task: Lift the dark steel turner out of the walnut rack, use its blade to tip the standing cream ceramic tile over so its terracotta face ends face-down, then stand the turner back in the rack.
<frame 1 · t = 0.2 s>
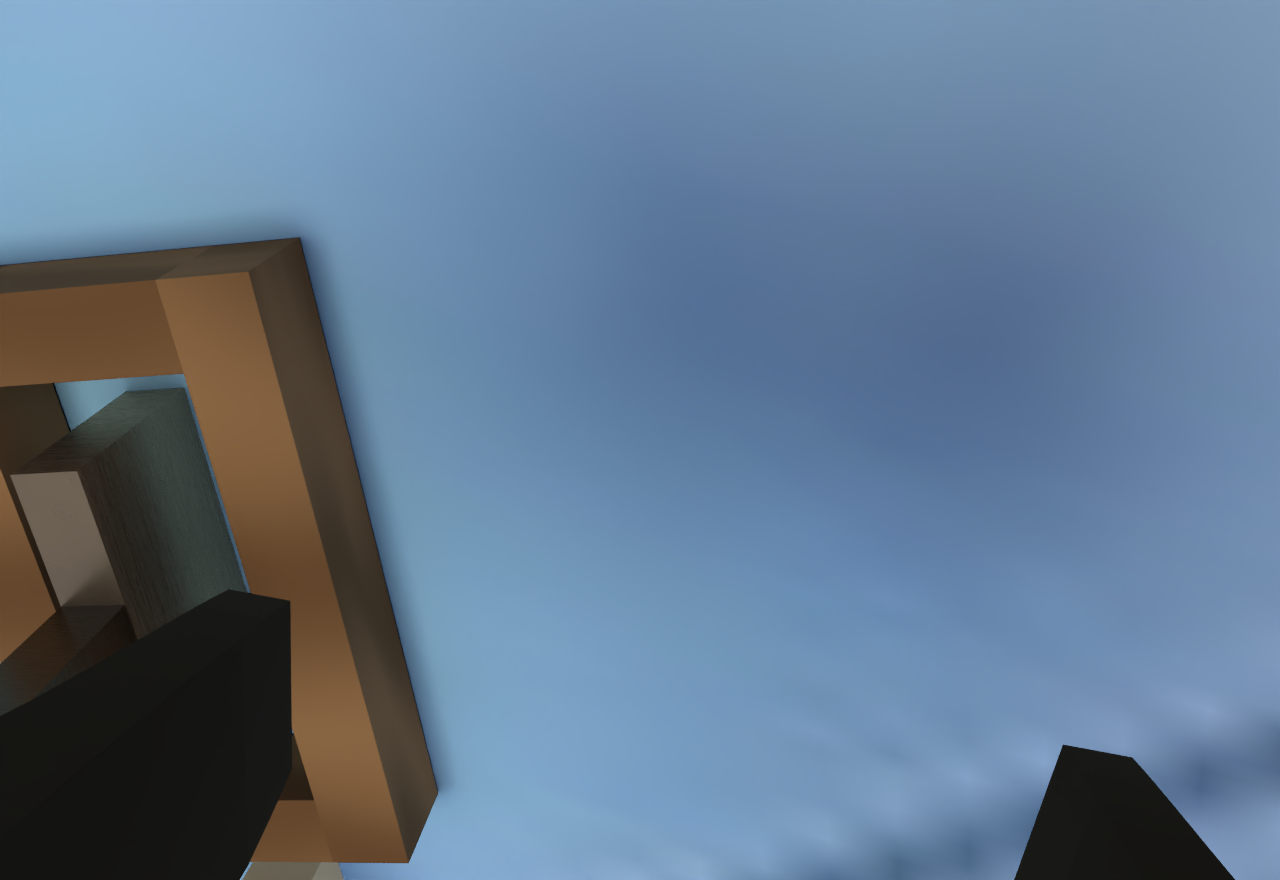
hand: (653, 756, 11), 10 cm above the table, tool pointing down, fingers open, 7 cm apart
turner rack: (205, 553, 23), on the table
turner: (69, 700, 19), in the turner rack
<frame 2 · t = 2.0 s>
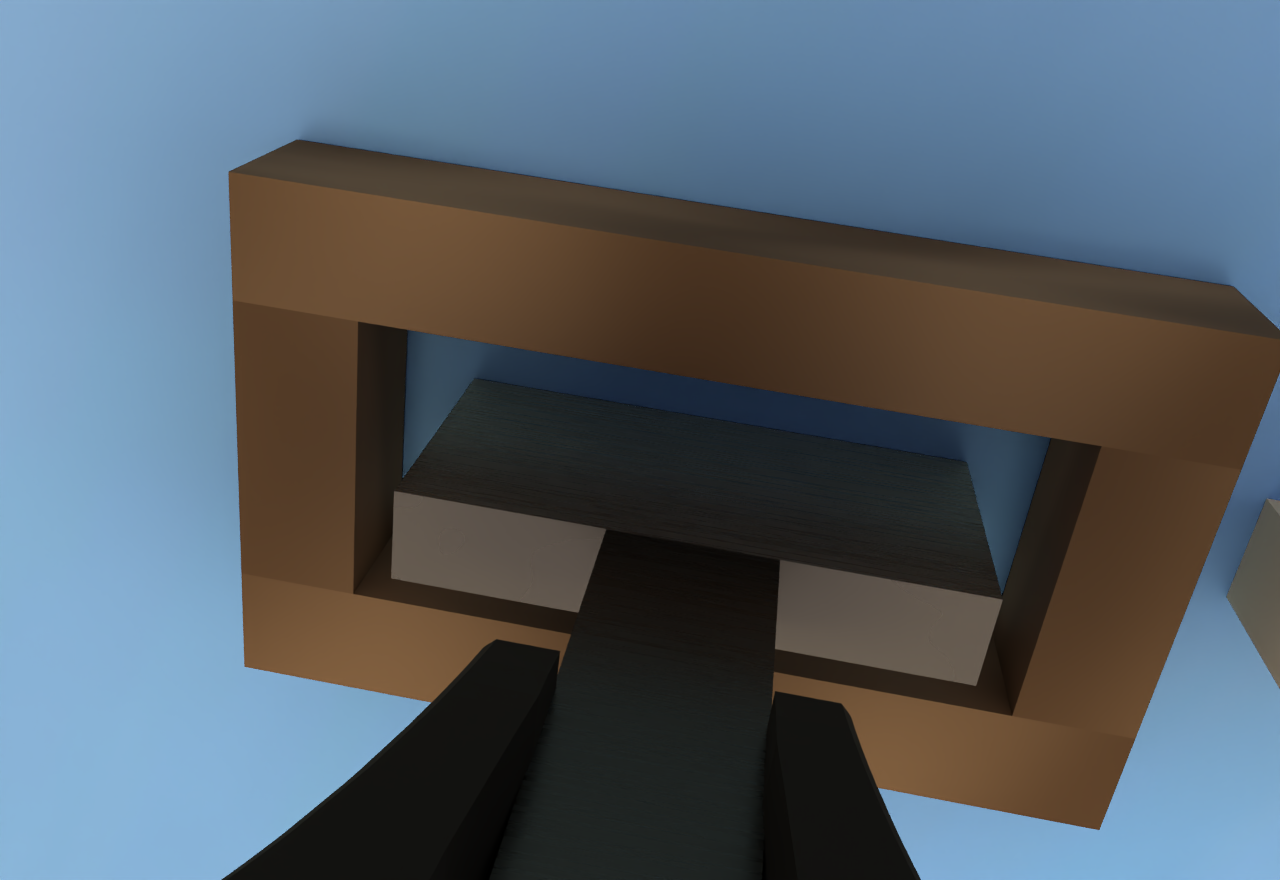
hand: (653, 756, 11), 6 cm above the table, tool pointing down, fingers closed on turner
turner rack: (710, 457, 17), on the table
turner: (673, 651, 12), in the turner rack, touching gripper
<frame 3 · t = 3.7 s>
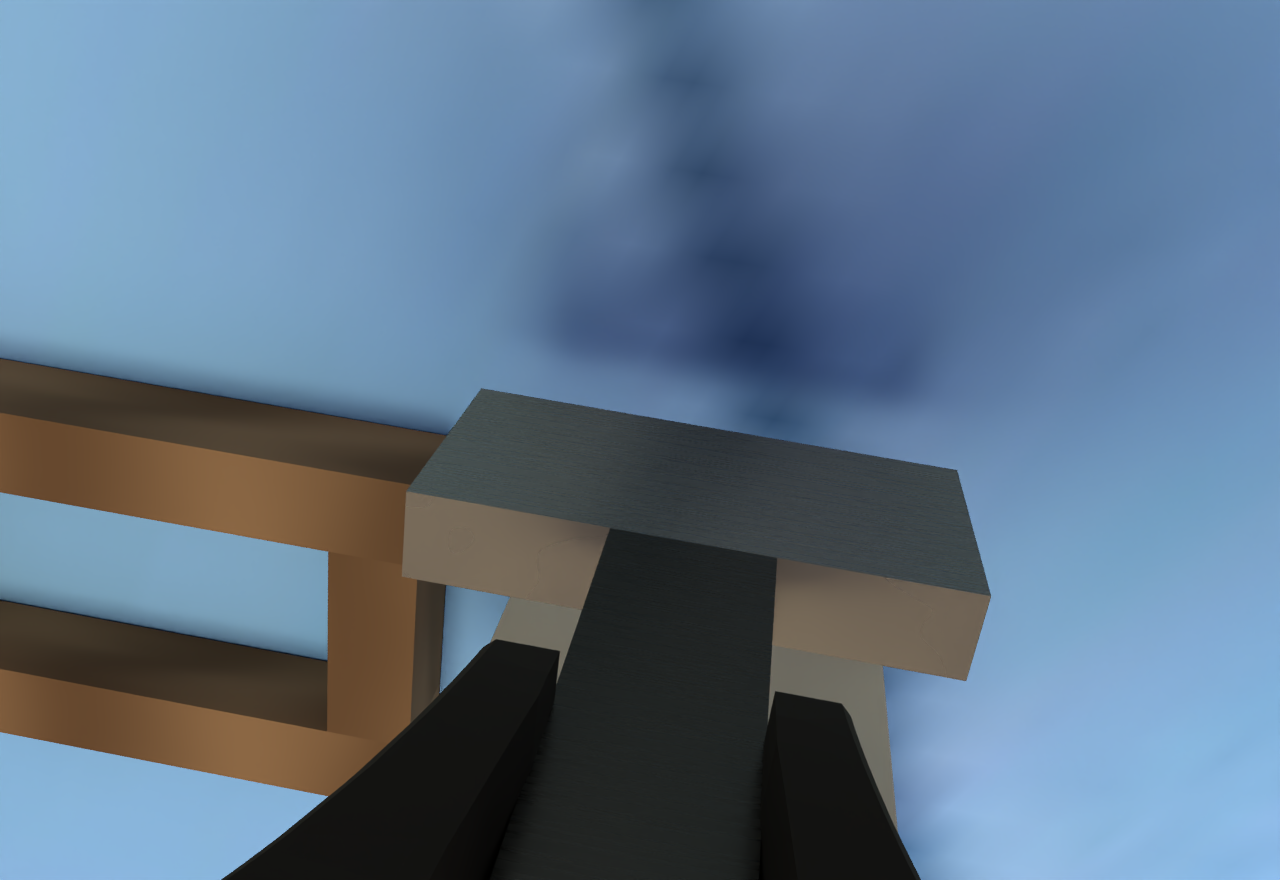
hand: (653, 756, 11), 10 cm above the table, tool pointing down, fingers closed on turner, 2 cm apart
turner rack: (147, 546, 23), on the table
turner: (674, 643, 13), point 8 cm above the table, touching gripper
tile: (691, 644, 23), on the table
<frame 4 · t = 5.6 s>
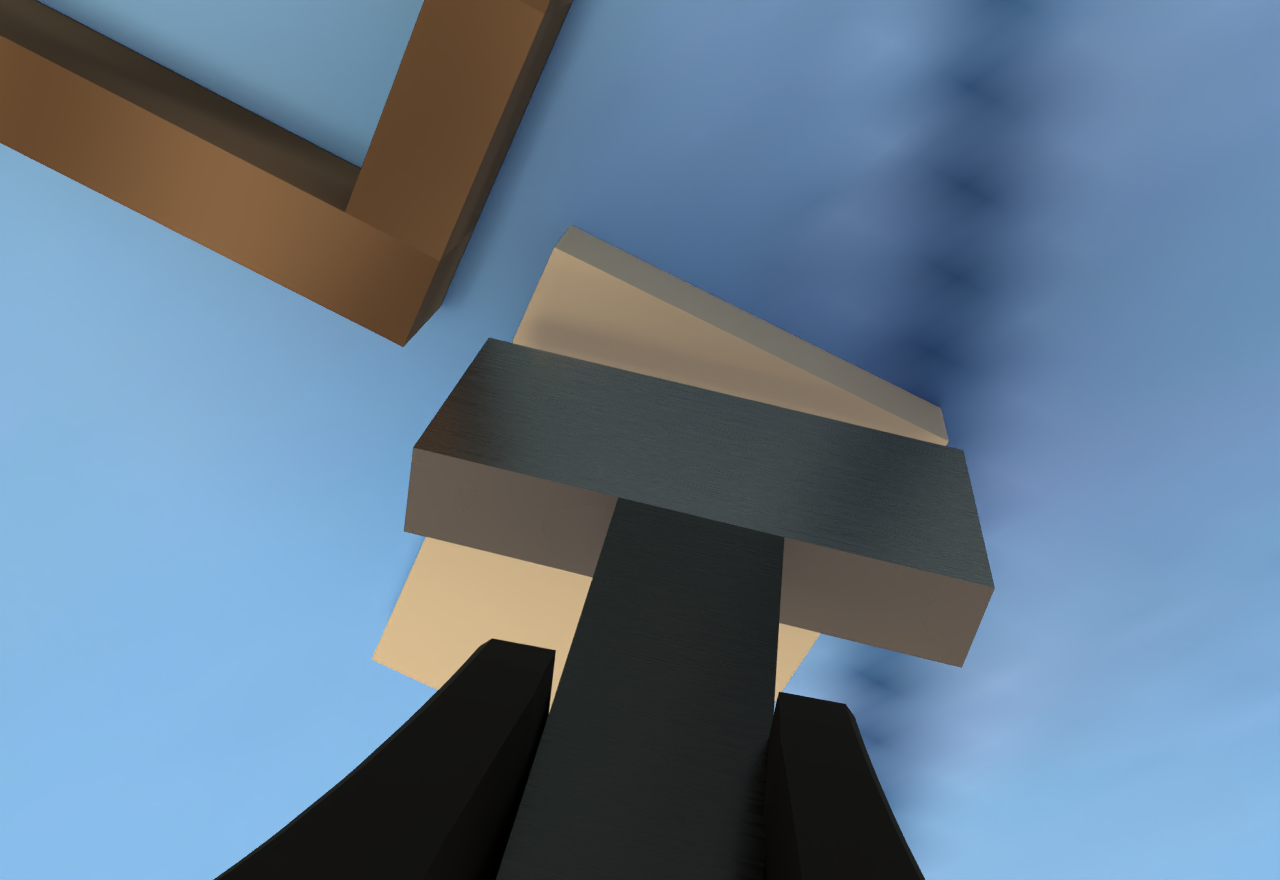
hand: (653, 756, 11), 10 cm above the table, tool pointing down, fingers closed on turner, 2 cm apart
turner: (678, 619, 13), point 8 cm above the table, touching gripper
tile: (756, 328, 19), point 1 cm above the table, tilted 90°
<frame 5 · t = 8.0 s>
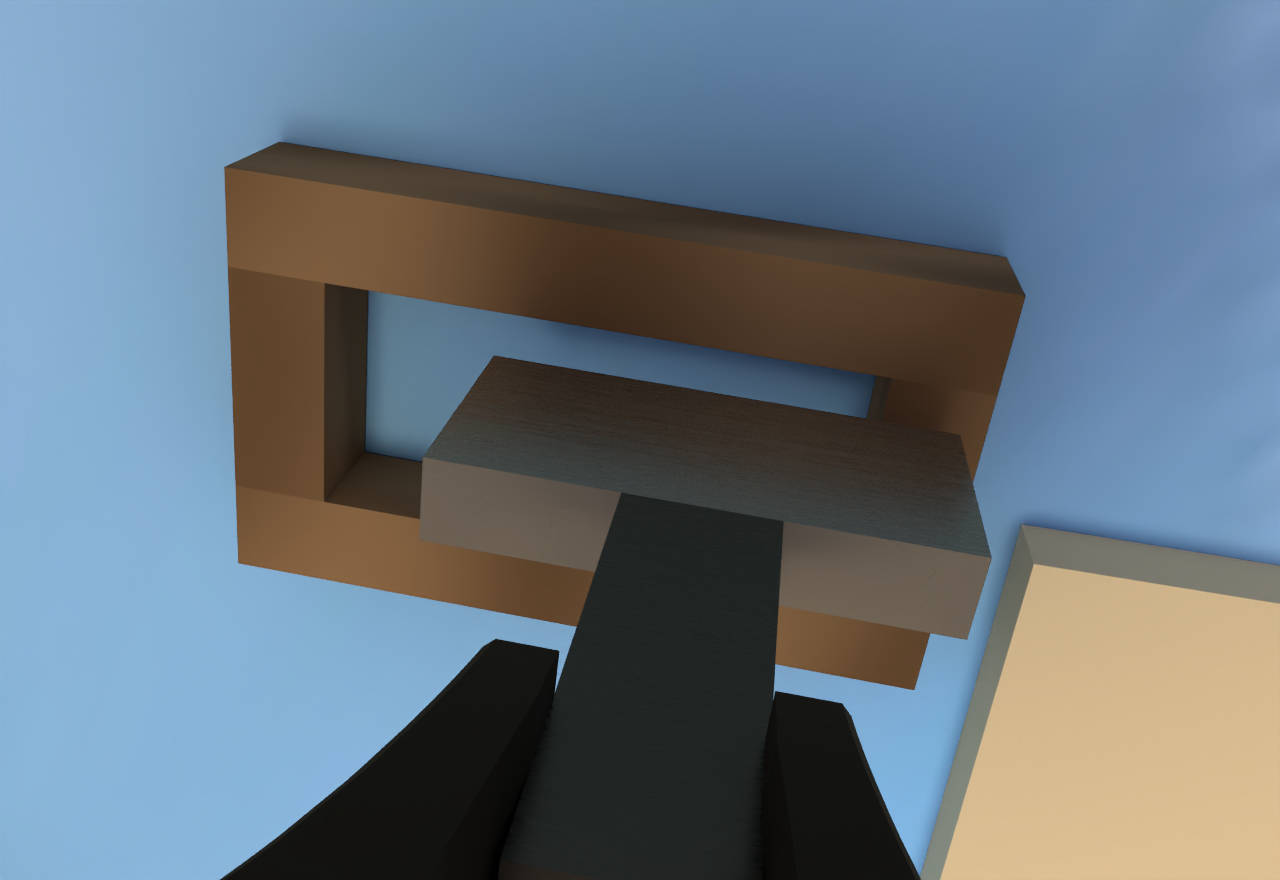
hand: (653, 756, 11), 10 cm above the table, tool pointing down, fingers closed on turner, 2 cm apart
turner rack: (609, 396, 21), on the table
turner: (684, 604, 13), point 8 cm above the table, touching gripper
tile: (1233, 573, 20), point 1 cm above the table, tilted 90°
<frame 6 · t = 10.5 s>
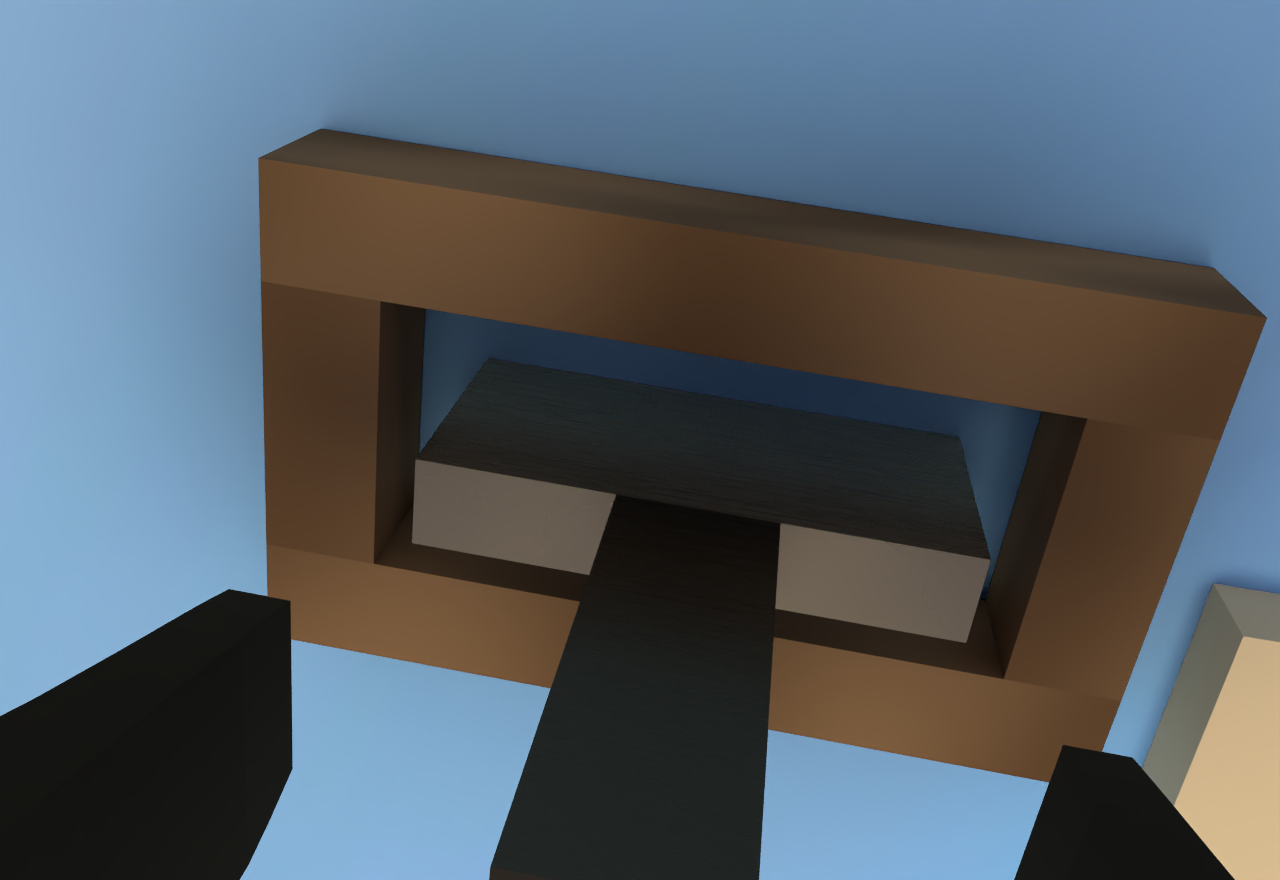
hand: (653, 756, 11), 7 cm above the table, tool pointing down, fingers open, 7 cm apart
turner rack: (715, 434, 17), on the table
turner: (680, 607, 13), in the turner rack
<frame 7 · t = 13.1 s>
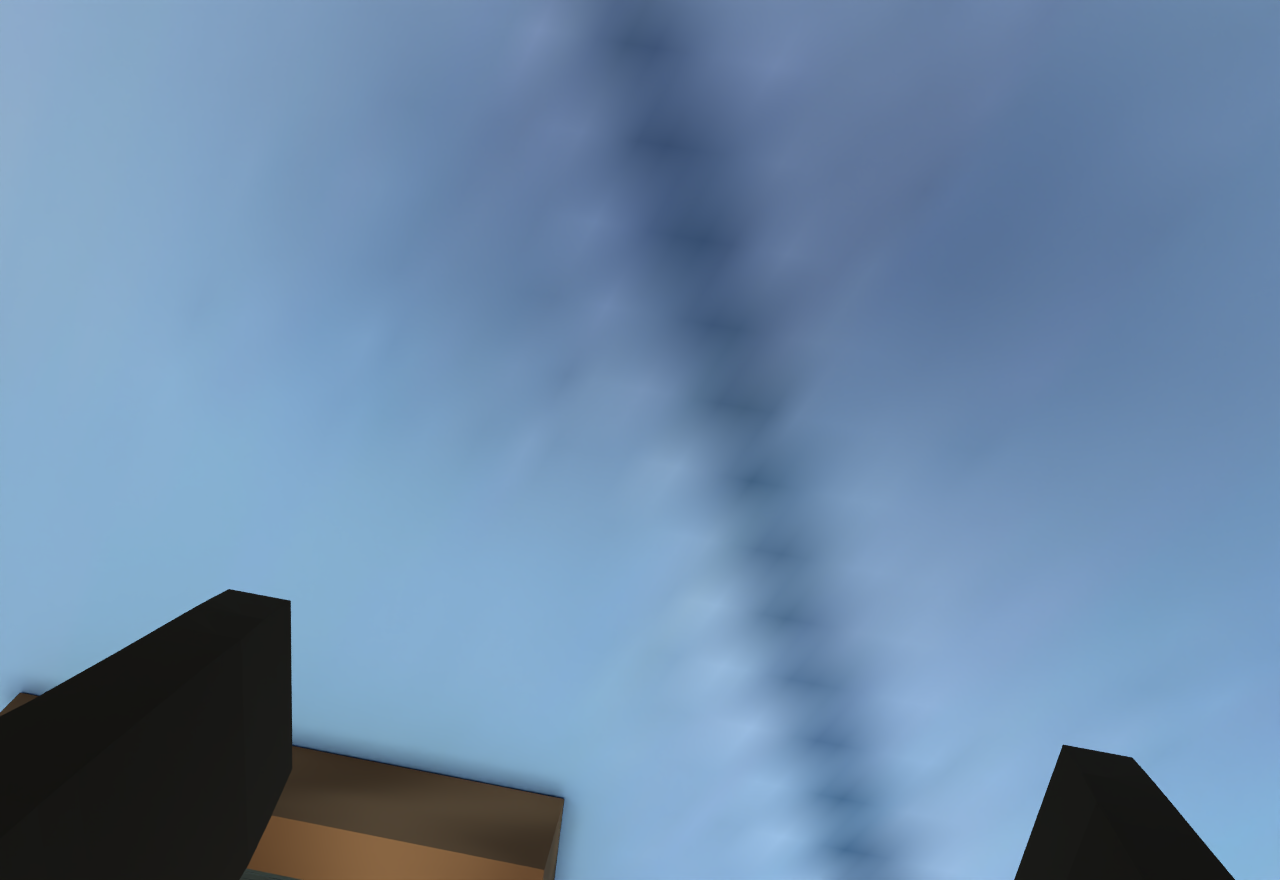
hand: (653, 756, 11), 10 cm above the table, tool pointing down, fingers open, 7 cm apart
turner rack: (289, 867, 27), on the table
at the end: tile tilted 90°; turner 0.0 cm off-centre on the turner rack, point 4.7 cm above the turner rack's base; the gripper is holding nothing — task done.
